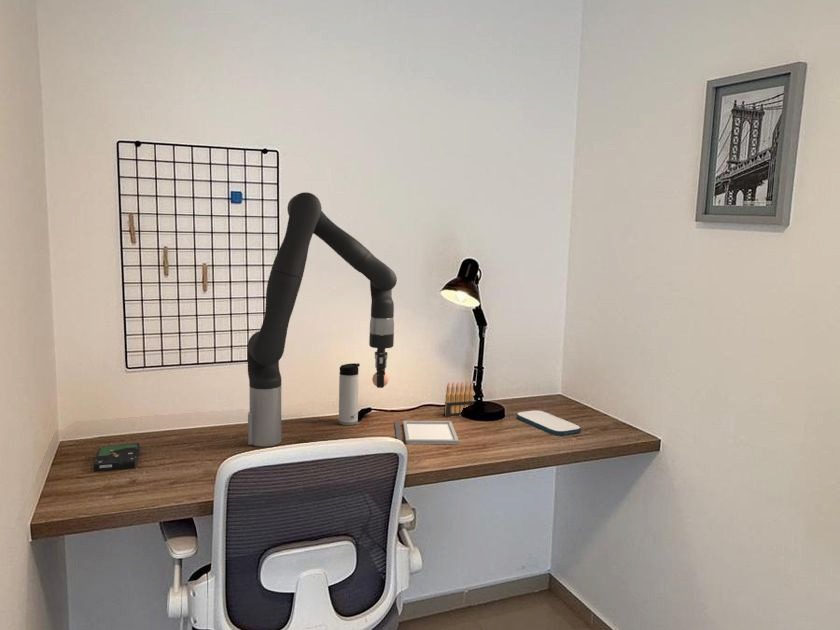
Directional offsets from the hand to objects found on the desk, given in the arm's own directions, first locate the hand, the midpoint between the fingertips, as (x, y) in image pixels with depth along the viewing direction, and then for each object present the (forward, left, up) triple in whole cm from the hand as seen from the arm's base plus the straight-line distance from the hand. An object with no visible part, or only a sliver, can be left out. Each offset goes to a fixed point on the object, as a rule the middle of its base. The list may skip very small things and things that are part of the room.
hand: (380, 385), depth 208 cm
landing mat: (+15, 0, -16) cm, 22 cm away
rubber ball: (0, 0, -1) cm, 1 cm away
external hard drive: (+57, +11, -16) cm, 60 cm away
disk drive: (-71, -25, -16) cm, 77 cm away
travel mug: (-10, +11, -16) cm, 22 cm away
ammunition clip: (+28, +21, -16) cm, 38 cm away
